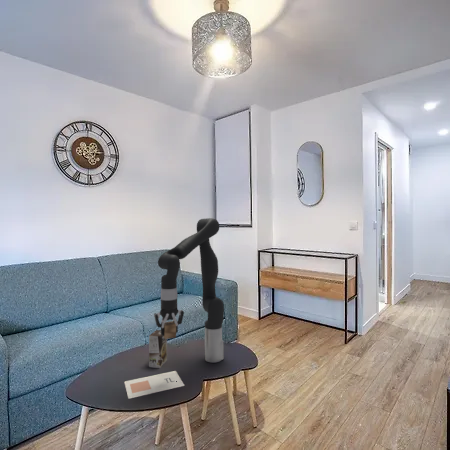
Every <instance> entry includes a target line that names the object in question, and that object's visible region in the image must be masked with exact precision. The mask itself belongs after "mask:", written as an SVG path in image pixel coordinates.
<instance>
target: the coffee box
mask: <svg viewBox="0 0 450 450" xmlns="http://www.w3.org/2000/svg"><path fill="white" fill-rule="evenodd" d="M167 361H168V339H165V338H164V337H163V335H162V334H161V329H155V330H154V331H153V332H152V333H151V334H149V336H148V367H149V368H155V369H161V368H162V366H163V365H164V364H166V362H167Z"/></svg>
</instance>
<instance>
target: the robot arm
mask: <svg viewBox="0 0 450 450" xmlns="http://www.w3.org/2000/svg"><path fill="white" fill-rule="evenodd" d="M219 231H220V222H219V221H218V220H217V219H216V218H213V217H212V218H210V217H209V218H208V217H207V218H201V219H199V220H198V221H197V223H196V232H195V233H194V234H191V235H190V236H188V237H186V238H184V239H182V240H181V241H180V242H179V243H178V244H177V245H176V246H174V247H173V248H171V249H169V250H167V251H165V252H163V253H162V254H160V256H159V257H158V260H157V265H158V267H159V268H160V269H162V270H166V274H164V275H162V276H161V280H160V281H161V282H160V284H161V285H160V288H161V290H160V311H159V312H157V313H153V317H154V320H155V325H156V327H158V328H160V330H161V334H162V335H163V336H164V325H165V323H166V322H168V321H173V322H174V323H175V324H176V335H177V333H178V331H179V327H178V326H179V325H181V324H182V323H183V319H184V314H185V311H184V310H182V309H178V286H177V285H178V284H177V283H178V282H177V281H178V280H177V278H178V275H179V271H180V268H181V267H180V266H181V261H180V260H183V259H185V258H186V257H187V256H188V255H190V254H191V252H193V251H194V250H195V249H196V248H198V247H199V257H200V271H201V283H202V303H201V304H202V308H203V310H204V311H205V312H206V313H207V320H205V321H204V360H205V361H206V362H208V363H211V364H212V363H214V364H215V363H219V362H221V361H222V360H224V358H225V357H224V340H223V322H224V317H225V316H224V312H225V311H224V310H225V309H224V308H225V306H224V302H223V300H222V299H221V298H219V297H217V294H216V284H217V283H216V282H217V279H218V275H219V261H218V257H217V255H216V253H215V252H214V249H213V248H212V246H211V242H210V239H211V238H212V237H214V236H215V235H217V234H218V233H219ZM177 315H178V319H177ZM160 316H161V317H162V318H161V321H160V319H159V318H160Z"/></svg>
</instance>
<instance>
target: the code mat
mask: <svg viewBox="0 0 450 450" xmlns="http://www.w3.org/2000/svg"><path fill="white" fill-rule="evenodd" d="M176 381H177V382H176ZM124 386H125V390H126V393H127V399H133V398H137V397H142V396H147V395H151V394H155V393H158V392H159V393H160V392H163V391H167V390H171V389H176V388H181V387H184V386H185V384H184V382H183V381H182V378H181V377H180V376H179V374H178V372H177V370H174V371H168V372H163V373H159V374H154V375H149V376H145V377H139V378H134V379H129V380H126V381H124Z"/></svg>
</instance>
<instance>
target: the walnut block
mask: <svg viewBox="0 0 450 450" xmlns="http://www.w3.org/2000/svg"><path fill="white" fill-rule="evenodd" d="M163 337H164V338H165V339H167V340H169V339H174V338H175V339H176V338H177V334H176V324H175V323H174V322H173V320H170V321H166V323H165V325H164V336H163Z"/></svg>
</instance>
